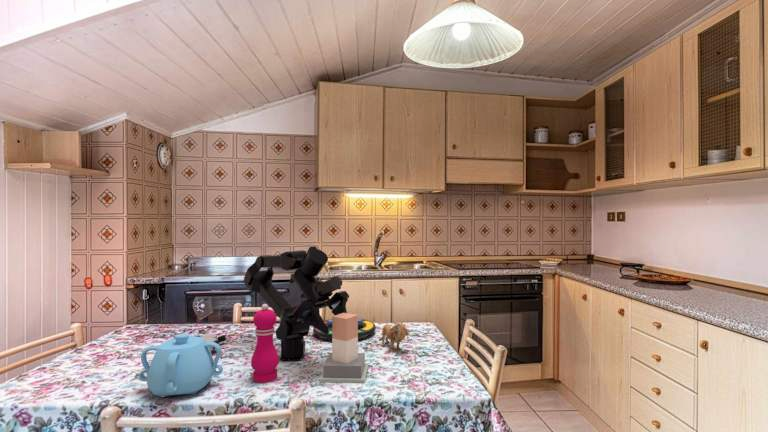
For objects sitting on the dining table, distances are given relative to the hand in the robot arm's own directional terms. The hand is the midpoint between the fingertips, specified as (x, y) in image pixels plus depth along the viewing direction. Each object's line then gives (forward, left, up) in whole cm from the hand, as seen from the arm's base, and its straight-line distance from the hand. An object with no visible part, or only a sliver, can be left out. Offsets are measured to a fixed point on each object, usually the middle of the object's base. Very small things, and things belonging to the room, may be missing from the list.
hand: (338, 329), depth 113 cm
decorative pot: (-38, -12, -12) cm, 42 cm away
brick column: (+2, -1, -8) cm, 8 cm away
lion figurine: (+15, +21, -12) cm, 28 cm away
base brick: (+2, -1, -12) cm, 12 cm away
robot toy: (-47, +17, -12) cm, 51 cm away
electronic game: (-4, +36, -12) cm, 39 cm away
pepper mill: (-19, -5, -12) cm, 23 cm away
